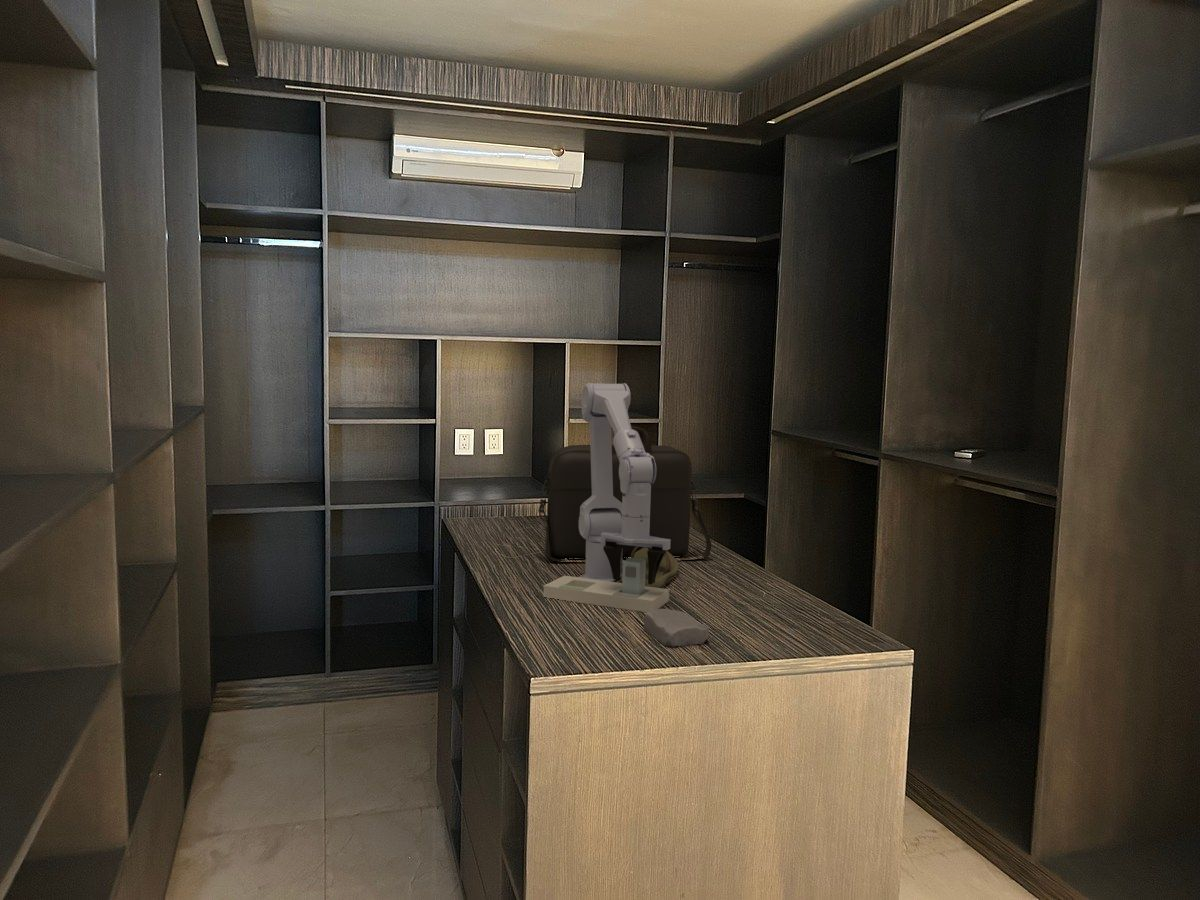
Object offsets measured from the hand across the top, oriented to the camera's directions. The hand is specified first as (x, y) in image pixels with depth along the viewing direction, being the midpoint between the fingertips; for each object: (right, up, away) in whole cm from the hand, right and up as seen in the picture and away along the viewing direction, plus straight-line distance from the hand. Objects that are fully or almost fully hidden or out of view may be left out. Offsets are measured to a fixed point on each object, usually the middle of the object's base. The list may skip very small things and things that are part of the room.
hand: (633, 580), depth 191 cm
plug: (0, -5, +1) cm, 5 cm away
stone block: (+7, -8, -21) cm, 23 cm away
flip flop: (+4, -3, +21) cm, 22 cm away
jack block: (-6, -4, +3) cm, 8 cm away
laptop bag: (-1, 0, +43) cm, 43 cm away
